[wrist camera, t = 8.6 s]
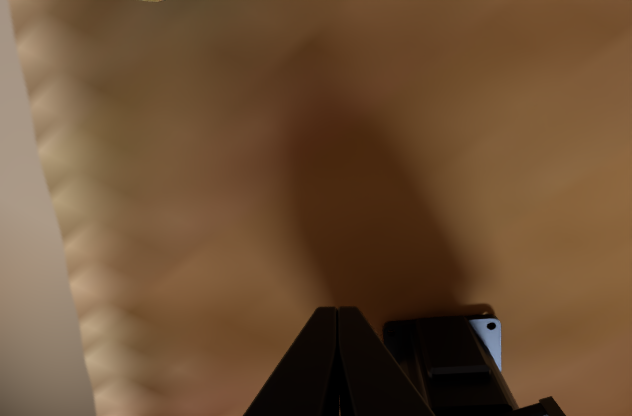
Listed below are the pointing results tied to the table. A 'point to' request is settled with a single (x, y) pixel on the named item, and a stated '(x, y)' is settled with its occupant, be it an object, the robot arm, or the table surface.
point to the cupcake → (153, 0)
